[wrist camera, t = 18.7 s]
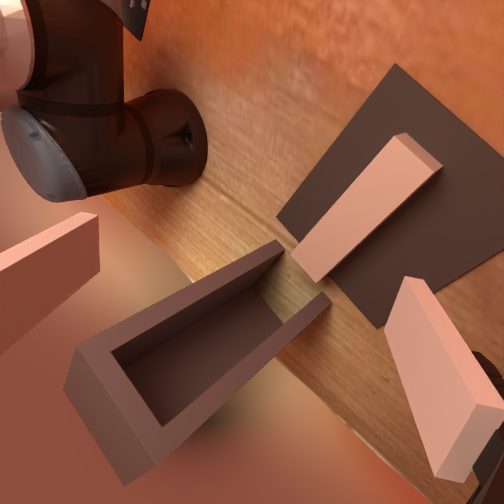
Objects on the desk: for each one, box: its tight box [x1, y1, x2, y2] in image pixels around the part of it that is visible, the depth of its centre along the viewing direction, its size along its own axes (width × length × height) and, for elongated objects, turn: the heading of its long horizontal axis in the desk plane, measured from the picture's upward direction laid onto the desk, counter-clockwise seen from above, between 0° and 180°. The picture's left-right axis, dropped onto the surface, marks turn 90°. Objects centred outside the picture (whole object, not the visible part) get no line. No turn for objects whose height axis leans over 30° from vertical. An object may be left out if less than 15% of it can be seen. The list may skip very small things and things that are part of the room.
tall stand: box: [63, 239, 332, 486], centre depth 44 cm, size 12×12×30 cm
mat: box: [276, 64, 504, 329], centre depth 40 cm, size 20×23×1 cm
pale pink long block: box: [290, 133, 443, 283], centre depth 40 cm, size 5×19×4 cm, turn 145°
